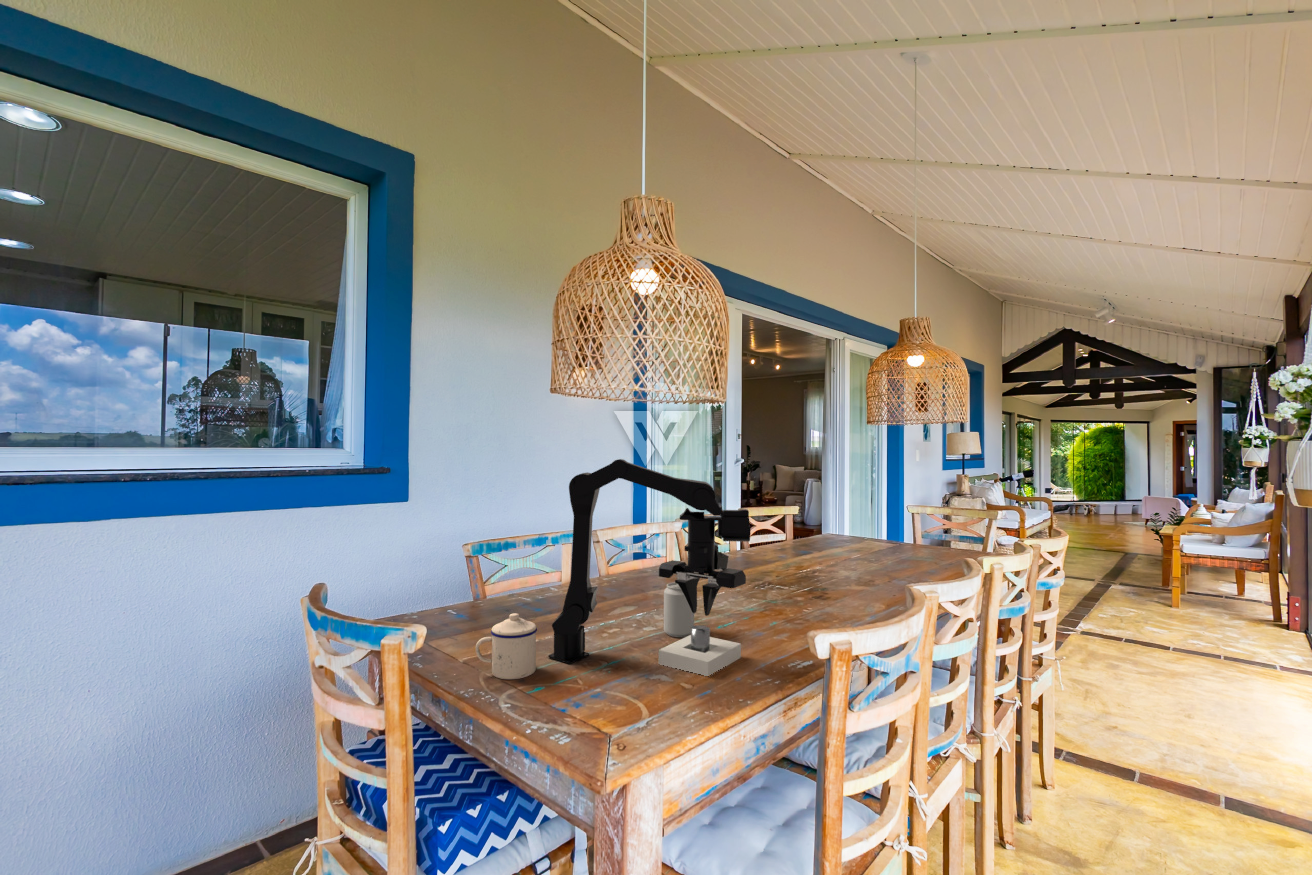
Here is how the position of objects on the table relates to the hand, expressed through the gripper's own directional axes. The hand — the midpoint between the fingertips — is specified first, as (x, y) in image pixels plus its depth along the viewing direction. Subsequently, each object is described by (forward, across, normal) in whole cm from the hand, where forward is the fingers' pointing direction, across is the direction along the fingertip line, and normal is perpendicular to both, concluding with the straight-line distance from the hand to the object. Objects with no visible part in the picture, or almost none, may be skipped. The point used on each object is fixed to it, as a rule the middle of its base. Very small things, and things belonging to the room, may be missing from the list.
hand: (700, 613), depth 134 cm
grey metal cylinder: (+10, 0, 0) cm, 10 cm away
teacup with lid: (+10, +28, +29) cm, 42 cm away
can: (+10, +14, -13) cm, 22 cm away
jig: (+10, 0, 0) cm, 10 cm away
